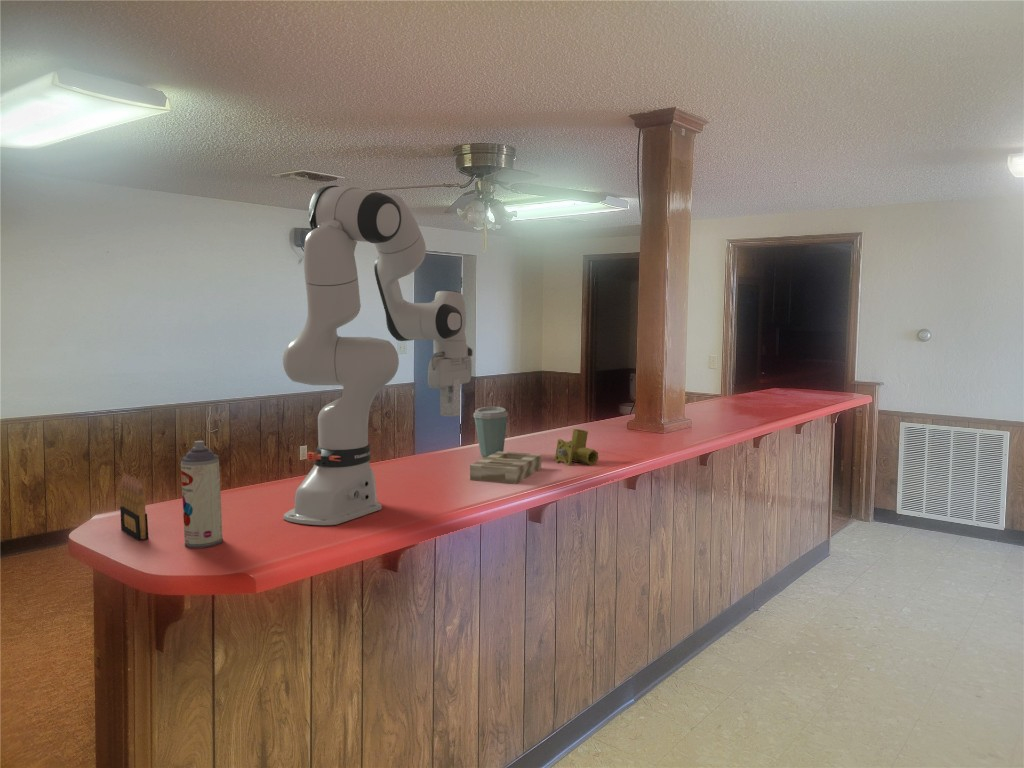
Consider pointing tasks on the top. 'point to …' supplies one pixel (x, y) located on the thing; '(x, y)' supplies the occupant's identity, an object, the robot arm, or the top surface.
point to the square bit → (451, 401)
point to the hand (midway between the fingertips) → (450, 402)
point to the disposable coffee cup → (490, 429)
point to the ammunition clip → (133, 508)
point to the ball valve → (576, 449)
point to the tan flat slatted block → (505, 467)
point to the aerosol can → (201, 497)
